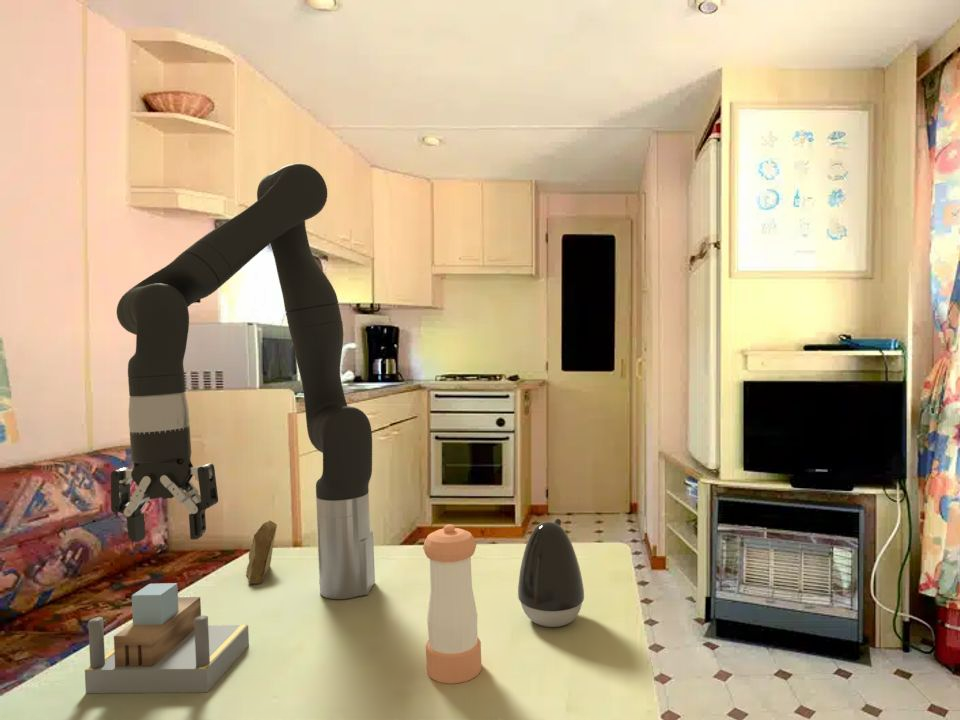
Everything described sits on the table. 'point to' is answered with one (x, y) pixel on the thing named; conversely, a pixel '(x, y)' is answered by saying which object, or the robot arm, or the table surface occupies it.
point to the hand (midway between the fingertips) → (167, 539)
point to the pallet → (155, 636)
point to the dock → (168, 661)
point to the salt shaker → (451, 607)
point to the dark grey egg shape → (550, 577)
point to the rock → (261, 552)
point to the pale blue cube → (155, 604)
